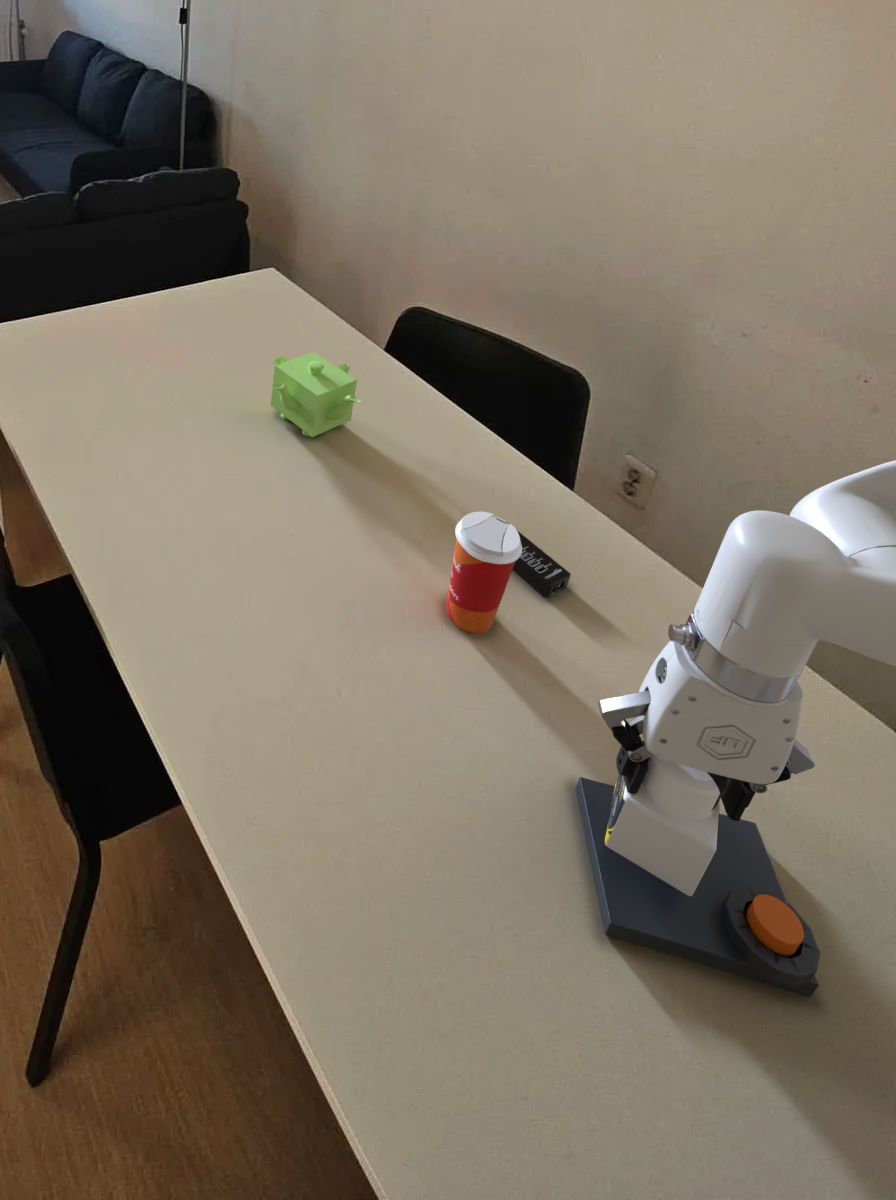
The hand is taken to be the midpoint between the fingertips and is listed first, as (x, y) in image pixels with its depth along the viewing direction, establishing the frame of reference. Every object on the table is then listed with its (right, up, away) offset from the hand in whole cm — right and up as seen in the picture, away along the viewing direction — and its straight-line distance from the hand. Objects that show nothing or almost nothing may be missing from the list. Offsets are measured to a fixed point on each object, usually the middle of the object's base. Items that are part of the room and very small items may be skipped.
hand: (676, 789), depth 71 cm
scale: (+2, -11, +3) cm, 11 cm away
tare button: (+6, -10, -3) cm, 12 cm away
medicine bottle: (-1, -7, +3) cm, 7 cm away
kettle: (-22, +18, +66) cm, 72 cm away
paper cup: (-8, +1, +30) cm, 31 cm away
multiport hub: (+3, +4, +38) cm, 38 cm away
